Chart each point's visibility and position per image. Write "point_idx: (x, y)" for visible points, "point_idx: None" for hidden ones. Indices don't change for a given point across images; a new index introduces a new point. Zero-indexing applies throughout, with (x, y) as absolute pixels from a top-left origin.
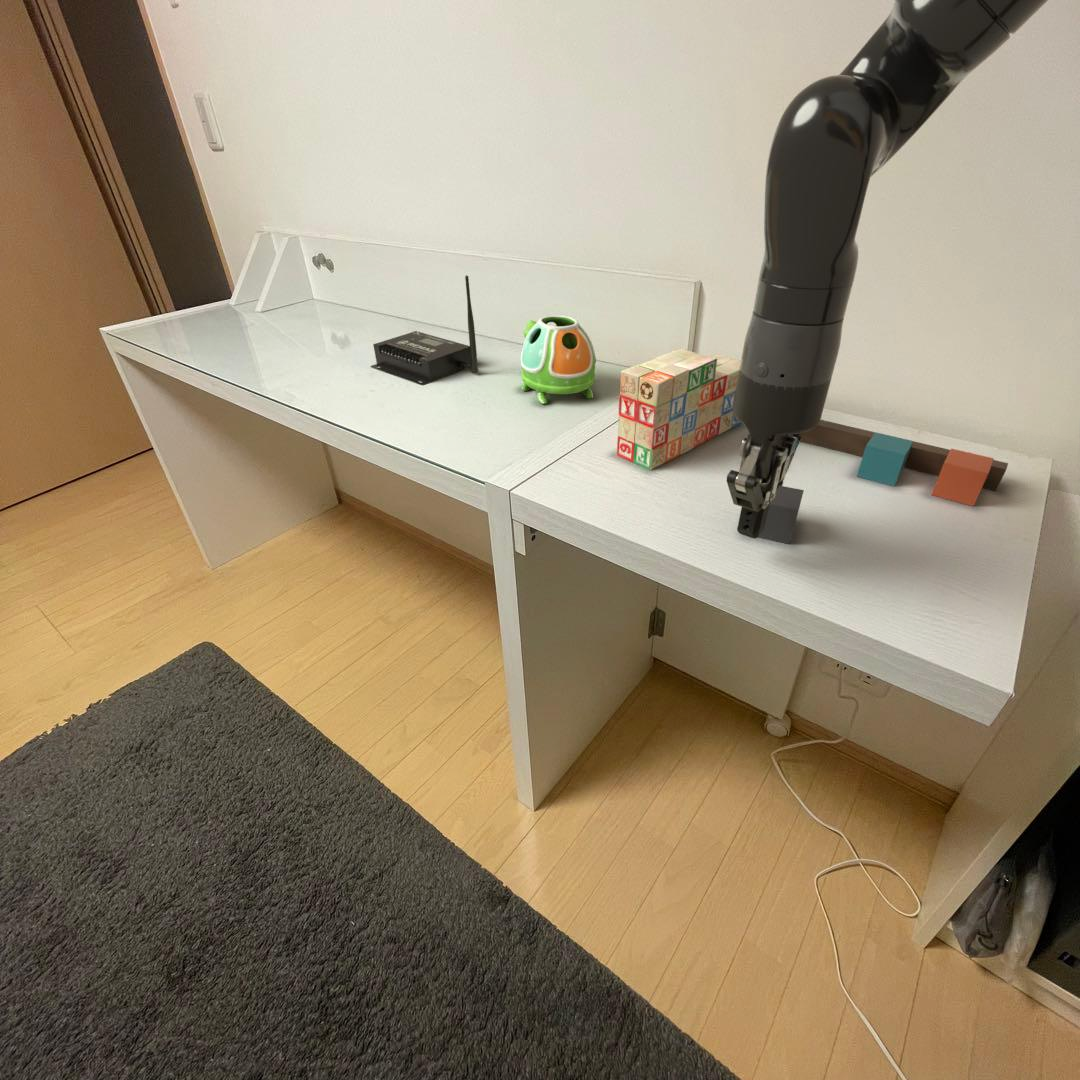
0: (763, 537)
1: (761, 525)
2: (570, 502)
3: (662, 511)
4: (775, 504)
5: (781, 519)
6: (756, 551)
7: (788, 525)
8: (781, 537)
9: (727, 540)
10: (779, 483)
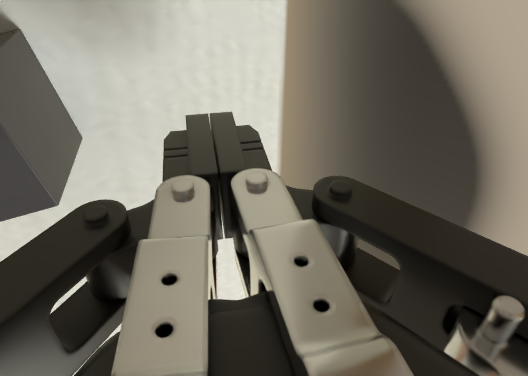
0: (61, 103)
1: (226, 130)
2: None
3: None
4: (17, 154)
5: (18, 101)
6: (132, 88)
7: (8, 69)
8: (31, 62)
9: (145, 160)
10: (118, 221)
